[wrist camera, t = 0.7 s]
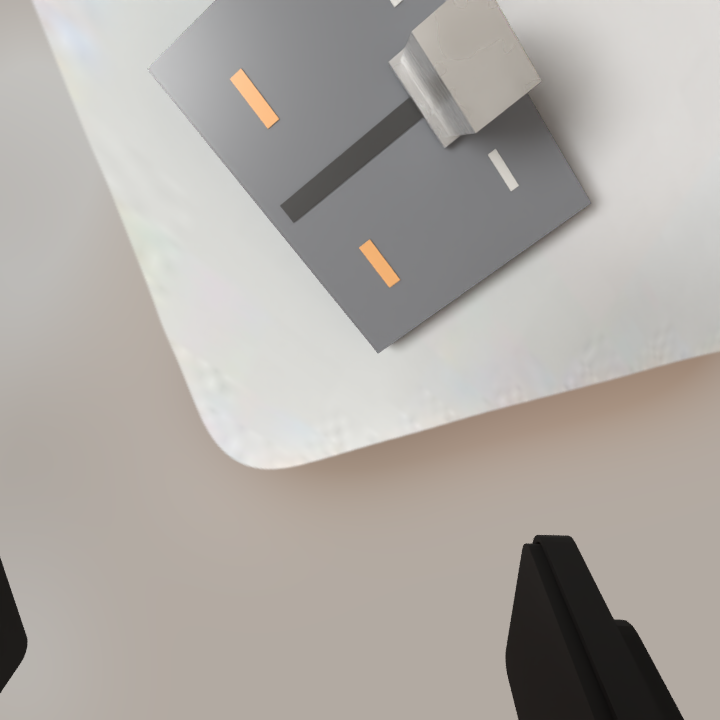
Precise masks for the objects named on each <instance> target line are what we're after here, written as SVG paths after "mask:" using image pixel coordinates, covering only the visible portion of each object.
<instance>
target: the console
mask: <svg viewBox="0 0 720 720" xmlns="http://www.w3.org/2000/svg"><path fill="white" fill-rule="evenodd" d="M446 1H447V0H215V1H214V2H213V3H212V4H211V5H210V6H209V7H208V8H207V9H206V10H205V11H204V12H203V13H202V14H201V15H200V16H199V17H198V18H197V19H196V20H195V21H194V22H193V23H192V24H191V25H190V26H189V27H188V28H187V29H186V30H185V31H184V32H183V33H182V34H181V35H180V36H179V37H178V38H177V39H176V40H175V41H174V42H173V43H172V44H171V45H170V46H169V47H168V48H167V49H166V50H165V51H164V52H163V53H162V54H161V55H160V56H159V57H158V58H157V59H156V60H155V61H154V62H153V63H152V64H151V65H150V66H149V67H148V68H147V70H148V71H149V72H150V73H151V74H152V76H153V77H154V78H155V79H156V81H157V82H158V83H159V84H160V86H161V87H162V88H163V89H164V90H165V92H166V93H167V94H168V95H169V97H170V98H171V99H172V100H173V102H174V103H175V104H176V105H177V106H178V108H179V109H180V110H181V111H182V113H183V114H184V115H185V116H186V118H187V119H188V120H189V121H190V122H191V124H192V125H193V126H194V127H195V129H196V130H197V131H198V132H199V134H200V135H201V136H202V137H203V138H204V140H205V141H206V142H207V143H208V145H209V146H210V147H211V148H212V150H213V151H214V152H215V153H216V154H217V156H218V157H219V158H220V159H221V161H222V162H223V163H224V164H225V166H226V167H227V168H228V169H229V170H230V172H231V173H232V174H233V175H234V177H235V178H236V179H237V180H238V182H239V183H240V184H241V185H242V186H243V188H244V189H245V190H246V191H247V193H248V194H249V195H250V196H251V198H252V199H253V200H254V201H255V203H256V204H257V205H258V206H259V207H260V209H261V210H262V211H263V212H264V214H265V215H266V216H267V217H268V219H269V220H270V221H271V222H272V223H273V225H274V226H275V227H276V228H277V230H278V231H279V232H280V233H281V235H282V236H283V237H284V238H285V239H286V241H287V242H288V243H289V244H290V246H291V247H292V248H293V249H294V251H295V252H296V253H297V254H298V255H299V257H300V258H301V259H302V260H303V262H304V263H305V264H306V265H307V267H308V268H309V269H310V270H311V271H312V273H313V274H314V275H315V276H316V278H317V279H318V280H319V281H320V283H321V284H322V285H323V286H324V287H325V289H326V290H327V291H328V292H329V294H330V295H331V296H332V297H333V299H334V300H335V301H336V302H337V303H338V305H339V306H340V307H341V308H342V310H343V311H344V312H345V313H346V315H347V316H348V317H349V318H350V319H351V321H352V322H353V323H354V324H355V326H356V327H357V328H358V329H359V331H360V332H361V333H362V334H363V335H364V337H365V338H366V339H367V340H368V342H369V343H370V344H371V345H372V347H373V348H374V349H375V350H376V352H377V353H380V352H381V351H382V350H384V349H385V348H387V347H388V346H389V345H391V344H392V343H394V342H395V341H397V340H398V339H399V338H401V337H402V336H404V335H405V334H406V333H408V332H409V331H411V330H412V329H414V328H415V327H416V326H418V325H419V324H421V323H422V322H423V321H425V320H426V319H428V318H429V317H431V316H432V315H433V314H435V313H436V312H438V311H439V310H440V309H442V308H443V307H445V306H446V305H448V304H449V303H450V302H452V301H453V300H455V299H456V298H457V297H459V296H460V295H462V294H463V293H465V292H466V291H467V290H469V289H470V288H472V287H473V286H474V285H476V284H477V283H479V282H480V281H482V280H483V279H484V278H486V277H487V276H489V275H490V274H491V273H493V272H494V271H496V270H497V269H499V268H500V267H501V266H503V265H504V264H506V263H507V262H508V261H510V260H511V259H513V258H514V257H516V256H517V255H518V254H520V253H521V252H523V251H524V250H525V249H527V248H528V247H530V246H531V245H533V244H534V243H535V242H537V241H538V240H540V239H541V238H542V237H544V236H545V235H547V234H548V233H550V232H551V231H552V230H554V229H555V228H557V227H558V226H559V225H561V224H562V223H564V222H565V221H567V220H568V219H569V218H571V217H572V216H574V215H575V214H576V213H578V212H579V211H581V210H582V209H584V208H585V207H586V206H588V205H589V204H591V202H590V200H589V198H588V197H587V195H586V193H585V191H584V190H583V188H582V186H581V185H580V183H579V181H578V179H577V178H576V176H575V174H574V173H573V171H572V169H571V167H570V166H569V164H568V162H567V161H566V159H565V157H564V155H563V154H562V152H561V150H560V149H559V147H558V145H557V143H556V142H555V140H554V138H553V137H552V135H551V133H550V131H549V130H548V128H547V126H546V125H545V123H544V121H543V119H542V118H541V116H540V114H539V113H538V111H537V109H536V107H535V106H534V104H533V102H532V101H531V99H530V97H529V95H528V94H527V93H526V94H525V95H524V96H522V97H521V98H520V99H519V100H517V101H516V102H515V103H514V104H512V105H511V106H510V107H508V108H507V109H506V110H505V111H503V112H502V113H501V114H500V115H498V116H497V117H496V118H495V119H493V120H492V121H491V122H489V123H488V124H487V125H486V126H484V127H483V128H482V129H481V130H479V131H478V132H477V133H474V134H466V135H460V136H459V137H458V138H457V139H455V140H454V141H453V142H452V143H450V144H449V145H448V146H447V147H445V148H443V146H442V145H441V143H440V142H439V140H438V139H437V137H436V136H435V134H434V133H433V131H432V130H431V128H430V127H429V125H428V124H427V122H426V120H425V119H424V117H423V116H422V114H421V113H420V111H419V110H418V108H417V107H416V105H415V104H414V102H413V101H412V99H411V98H410V96H409V95H408V93H407V92H406V90H405V89H404V87H403V86H402V84H401V83H400V81H399V80H398V78H397V76H396V75H395V73H394V72H393V70H392V69H391V67H390V66H389V64H388V62H389V61H390V60H391V59H392V58H394V57H395V56H396V55H397V54H398V53H399V52H401V51H402V50H403V49H404V48H405V47H406V44H407V42H408V39H409V37H410V34H411V32H412V31H413V30H414V29H415V28H416V27H417V26H418V25H419V24H421V23H422V22H423V21H424V20H425V19H426V18H427V17H429V16H430V15H431V14H432V13H433V12H434V11H435V10H437V9H438V8H439V7H440V6H441V5H442V4H444V3H445V2H446Z"/></svg>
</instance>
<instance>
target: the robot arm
mask: <svg viewBox="0 0 720 720" xmlns="http://www.w3.org/2000/svg"><path fill="white" fill-rule="evenodd" d="M26 649H27V636H26V634H25V630H24V627H23V625H22V622H21V618H20V615H19V612H18V609H17V606H16V603H15V600H14V597H13V594H12V591H11V588H10V585H9V582H8V579H7V577H6V574H5V571H4V567H3V564H2V561H1V559H0V693H1V691H2V690H3V688H4V687H5V685H6V684H7V682H8V681H9V679H10V678H11V676H12V675H13V673H14V672H15V670H16V669H17V668H18V666H19V665H20V663H21V661H22V660H23V658H24V655H25V653H26ZM506 669H507V675H508V679H509V683H510V687H511V691H512V695H513V699H514V703H515V707H516V711H517V715H518V719H519V720H684V719H683V717H682V715H681V713H680V711H679V710H678V708H677V706H676V704H675V702H674V700H673V698H672V697H671V695H670V693H669V691H668V689H667V687H666V685H665V684H664V682H663V680H662V678H661V676H660V674H659V672H658V670H657V669H656V667H655V665H654V663H653V661H652V659H651V657H650V655H649V654H648V652H647V650H646V648H645V646H644V644H643V642H642V640H641V639H640V637H639V635H638V633H637V632H636V630H635V629H634V627H633V626H632V625H631V624H629V623H628V622H627V621H625V620H614V619H613V617H612V615H611V613H610V611H609V609H608V607H607V605H606V603H605V601H604V599H603V597H602V595H601V594H600V591H599V589H598V587H597V585H596V583H595V581H594V579H593V577H592V576H591V573H590V571H589V569H588V567H587V565H586V563H585V561H584V559H583V557H582V555H581V553H580V551H579V549H578V548H577V545H576V543H575V542H574V540H573V539H572V537H570V536H559V535H558V536H557V535H536V536H535V538H534V540H533V543H532V544H524V546H523V549H522V554H521V561H520V567H519V573H518V579H517V585H516V592H515V598H514V604H513V610H512V616H511V622H510V628H509V635H508V641H507V647H506Z"/></svg>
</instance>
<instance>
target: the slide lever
mask: <svg viewBox="0 0 720 720" xmlns="http://www.w3.org/2000/svg"><path fill="white" fill-rule="evenodd" d="M388 64H389V66H390V67H391V69H392V70H393V72H394V73H395V75H396V76H397V78H398V80H399V81H400V83H401V84H402V86H403V87H404V89H405V90H406V92H407V93H408V95H409V96H410V98H411V99H412V101H413V102H414V104H415V105H416V107H417V108H418V110H419V111H420V113H421V114H422V116H423V117H424V119H425V120H426V122H427V124H428V125H429V127H430V128H431V130H432V131H433V133H434V134H435V136H436V137H437V139H438V140H439V142H440V143H441V145H442V146H443V148H445V147H447V146H448V145H449V144H450V143H452V142H453V141H454V140H455V139H457V138H458V137H459V136H460V135H466V134H474V133H477V132H478V131H479V130H481V129H482V128H483V127H484V126H486V125H487V124H488V123H489V122H491V121H492V120H493V119H495V118H496V117H497V116H498V115H500V114H501V113H502V112H503V111H505V110H506V109H507V108H508V107H510V106H511V105H512V104H514V103H515V102H516V101H517V100H519V99H520V98H521V97H522V96H524V95H525V94H526V93H528V92H529V91H530V90H531V89H533V88H534V87H535V86H536V85H538V84H539V83H540V82H541V79H540V77H539V75H538V74H537V72H536V70H535V68H534V67H533V65H532V63H531V61H530V60H529V58H528V56H527V54H526V53H525V51H524V49H523V47H522V46H521V44H520V42H519V40H518V38H517V37H516V35H515V33H514V31H513V30H512V28H511V26H510V24H509V23H508V21H507V19H506V17H505V16H504V14H503V12H502V10H501V9H500V7H499V5H498V3H497V2H496V0H447V1H446V2H445V3H444V4H442V5H441V6H440V7H439V8H438V9H437V10H435V11H434V12H433V13H432V14H431V15H430V16H429V17H427V18H426V19H425V20H424V21H423V22H422V23H421V24H419V25H418V26H417V27H416V28H415V29H414V30H413V31H412V32H411V34H410V37H409V39H408V42H407V44H406V47H405V48H404V49H403V50H402V51H401V52H399V53H398V54H397V55H396V56H395V57H394V58H392V59H391V60H390V61H389V62H388Z"/></svg>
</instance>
